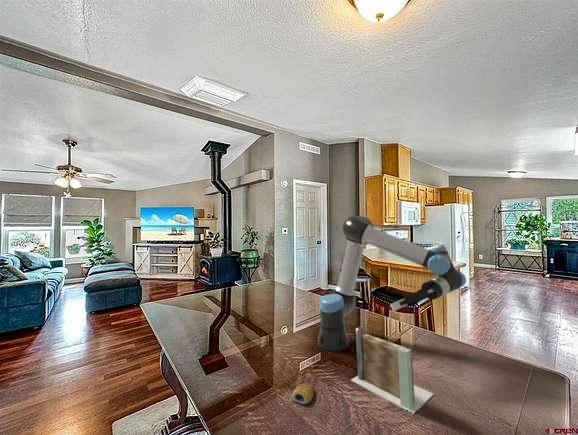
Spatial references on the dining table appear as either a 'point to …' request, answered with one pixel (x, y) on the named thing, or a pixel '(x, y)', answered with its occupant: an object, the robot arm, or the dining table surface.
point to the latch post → (405, 378)
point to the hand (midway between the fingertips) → (392, 307)
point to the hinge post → (360, 353)
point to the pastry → (303, 393)
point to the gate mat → (419, 395)
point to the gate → (383, 364)
